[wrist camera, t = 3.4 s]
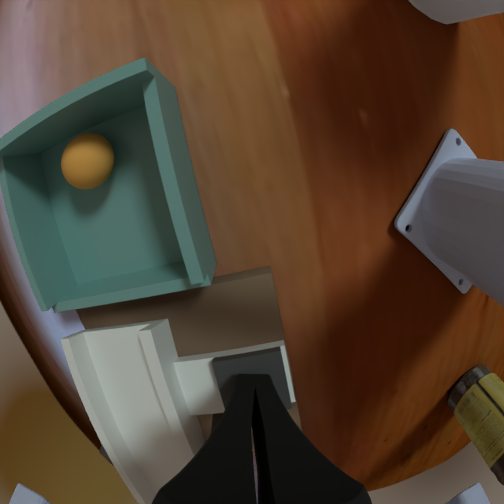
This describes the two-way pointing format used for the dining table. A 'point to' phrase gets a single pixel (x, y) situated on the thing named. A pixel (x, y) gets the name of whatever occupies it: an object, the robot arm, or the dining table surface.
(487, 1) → the foam cup
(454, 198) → the robot arm
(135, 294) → the teal open box
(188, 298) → the stand
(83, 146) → the ball
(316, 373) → the dining table surface
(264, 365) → the tray
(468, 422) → the sauce bottle
